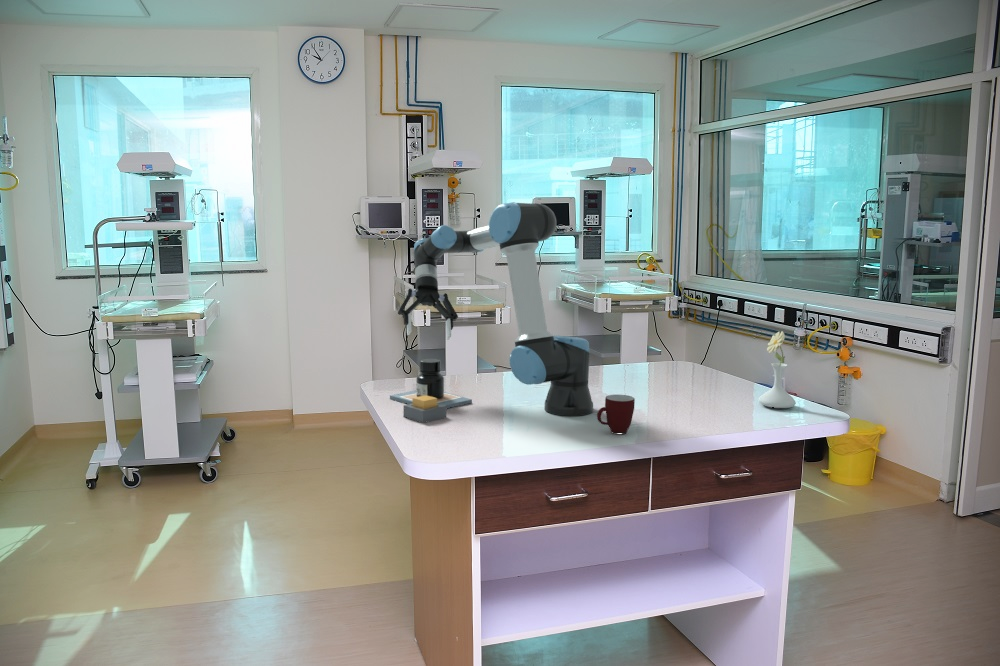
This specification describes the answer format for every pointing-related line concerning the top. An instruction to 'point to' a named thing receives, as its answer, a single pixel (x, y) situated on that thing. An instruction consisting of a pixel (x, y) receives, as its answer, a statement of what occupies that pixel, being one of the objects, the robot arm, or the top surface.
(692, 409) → the top surface
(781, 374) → the flower in vase
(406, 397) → the picture board
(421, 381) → the ink bottle
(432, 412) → the button housing
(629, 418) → the mug
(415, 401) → the button
